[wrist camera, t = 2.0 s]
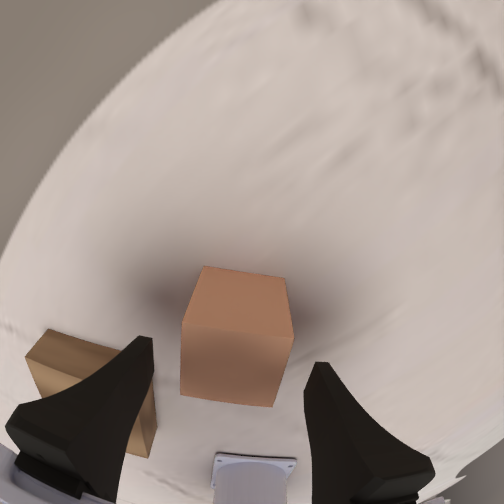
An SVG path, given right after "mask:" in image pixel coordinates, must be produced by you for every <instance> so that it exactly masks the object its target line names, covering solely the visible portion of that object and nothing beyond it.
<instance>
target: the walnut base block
mask: <svg viewBox="0 0 504 504" xmlns="http://www.w3.org/2000/svg"><path fill="white" fill-rule="evenodd" d="M120 352H121V351H120V350H116V349H112V348H108V347H105V346H101V345H98V344H94V343H91V342H88V341H84V340H81V339H78V338H75V337H72V336H68V335H65V334H62V333H59V332H57V331H54V330H51V329H48V330H47V331H46V332H45V333H44V334H43V336H42V337H41V338H40V339H39V340H38V341H37V343H36V344H35V345H34V346H33V347H32V349H31V350H30V351H29V352H28V353H27V355H26V356H25V359H26V362H27V364H28V367H29V369H30V372H31V374H32V377H33V379H34V381H35V384H36V386H37V388H38V390H39V393H40V395H41V397H42V398H45V397H48V396H51V395H53V394H56V393H58V392H61V391H63V390H65V389H67V388H69V387H71V386H73V385H75V384H77V383H79V382H80V381H82V380H84V379H85V378H87V377H88V376H90V375H91V374H93V373H94V372H96V371H97V370H99V369H100V368H101V367H103V366H104V365H105V364H107V363H108V362H109V361H110V360H112V359H113V358H114V357H115V356H116V355H118V354H119V353H120ZM156 430H157V420H156V412H155V403H154V393H153V382H152V380H151V384H150V387H149V390H148V393H147V395H146V397H145V400H144V402H143V404H142V407H141V409H140V411H139V414H138V416H137V418H136V421H135V423H134V426H133V428H132V431H131V434H130V437H129V441H128V445H127V448H126V453H129V454H133V455H136V456H140V457H144V458H149V454H150V450H151V447H152V443H153V440H154V437H155V433H156Z"/></svg>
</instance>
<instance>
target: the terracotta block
mask: <svg viewBox="0 0 504 504" xmlns="http://www.w3.org/2000/svg"><path fill="white" fill-rule="evenodd" d="M293 342H294V333H293V327H292V320H291V314H290V308H289V302H288V296H287V291H286V285H285V279H284V278H280V277H273V276H266V275H260V274H253V273H246V272H240V271H233V270H227V269H220V268H214V267H208V266H204V267H203V269H202V272H201V274H200V277H199V279H198V282H197V284H196V287H195V289H194V292H193V294H192V297H191V300H190V302H189V305H188V307H187V310H186V313H185V315H184V318H183V320H182V330H181V371H180V395H184V396H190V397H195V398H201V399H207V400H213V401H220V402H227V403H234V404H242V405H251V406H261V407H273V404H274V401H275V398H276V395H277V392H278V389H279V386H280V383H281V380H282V377H283V374H284V371H285V368H286V364H287V361H288V358H289V355H290V352H291V348H292V345H293Z"/></svg>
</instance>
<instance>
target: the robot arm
mask: <svg viewBox="0 0 504 504" xmlns="http://www.w3.org/2000/svg"><path fill="white" fill-rule="evenodd" d="M153 373H154V360H153V341H152V338H149V337H145V336H140V335H139V336H138V337H137V338H135V339H134V340H133V341H132V342H131V343H130V344H129V345H128V346H127V347H126V348H124V349H123V350H122V351H121V352H120V353H119V354H118V355H116V356H115V357H114V358H113V359H112V360H110V361H109V362H108V363H107V364H105V365H104V366H103V367H101V368H100V369H99V370H97V371H96V372H94V373H93V374H91V375H90V376H88V377H87V378H85V379H84V380H82V381H80V382H79V383H77V384H75V385H73V386H71V387H69V388H67V389H65V390H63V391H61V392H58V393H56V394H53V395H51V396H48V397H45V398H42V399H39V400H35V401H32V402H28V403H23V404H19V405H18V407H17V408H16V409H15V411H14V412H13V414H12V415H11V417H10V419H9V420H8V422H7V423H6V425H5V428H6V431H7V433H8V435H9V436H10V438H11V439H12V440H13V442H14V443H15V444H16V446H17V447H18V448H19V449H20V453H19V454H18V455H17V454H16V453H14V452H13V451H12V450H10V449H9V448H7V447H6V446H4V445H2V444H1V443H0V502H2V503H3V504H116V498H117V492H118V485H119V480H120V475H121V470H122V465H123V461H124V457H125V452H126V448H127V445H128V441H129V437H130V434H131V431H132V428H133V426H134V423H135V421H136V418H137V416H138V414H139V411H140V409H141V407H142V404H143V402H144V400H145V397H146V395H147V393H148V390H149V387H150V384H151V380H152V377H153ZM304 413H305V419H306V425H307V431H308V437H309V442H310V448H311V456H312V504H416V500H418V499H419V496H418V491H419V490H421V489H422V488H423V487H425V486H426V485H427V484H428V483H429V482H430V481H432V480H433V478H434V477H435V470H434V467H433V465H432V462H431V460H430V458H429V457H428V456H426V455H424V454H422V453H420V452H418V451H416V450H414V449H412V448H410V447H409V446H407V445H406V444H404V443H403V442H401V441H400V440H398V439H397V438H395V437H394V436H393V435H391V434H390V433H389V432H388V431H386V430H385V429H384V428H383V427H381V426H380V425H379V424H378V423H377V422H376V421H375V420H374V419H373V418H372V417H371V416H370V415H369V414H368V413H367V412H366V411H365V410H364V409H363V408H362V406H361V405H360V404H359V403H358V402H357V401H356V399H355V398H354V397H353V396H352V394H351V393H350V392H349V391H348V389H347V388H346V386H345V385H344V384H343V382H342V381H341V380H340V378H339V377H338V375H337V374H336V372H335V371H334V370H333V368H332V367H331V365H330V364H329V363H328V362H315V364H314V367H313V369H312V372H311V374H310V377H309V379H308V382H307V384H306V387H305V389H304ZM296 464H297V460H295V459H277V458H260V457H247V456H237V455H228V454H220V453H219V454H216V455H215V460H214V466H213V473H212V479H211V486H210V487H211V488H212V489H215V491H214V500H213V504H287V492H286V480H287V478H288V477H289V475H290V474H291V472H292V471H293V469H294V468H295V466H296ZM421 504H445V501H444V498H443V497H439V498H436V499H433V500H430V501H426V502H424V503H421Z"/></svg>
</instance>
